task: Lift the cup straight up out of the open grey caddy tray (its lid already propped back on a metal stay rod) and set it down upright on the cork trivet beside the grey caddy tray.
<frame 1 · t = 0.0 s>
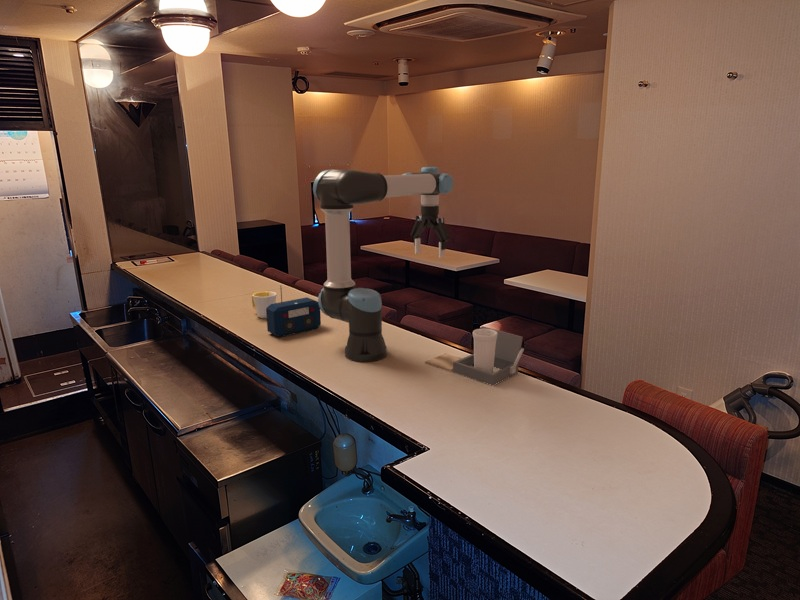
hand: (429, 255, 232), 28 cm above the bar counter, fingers open, 13 cm apart
cup: (483, 374, 179), resting in grey caddy tray
mug: (264, 316, 244), on the bar counter
trivet: (447, 362, 188), on the bar counter
radio: (295, 331, 223), on the bar counter
grey caddy tray: (485, 372, 180), on the bar counter
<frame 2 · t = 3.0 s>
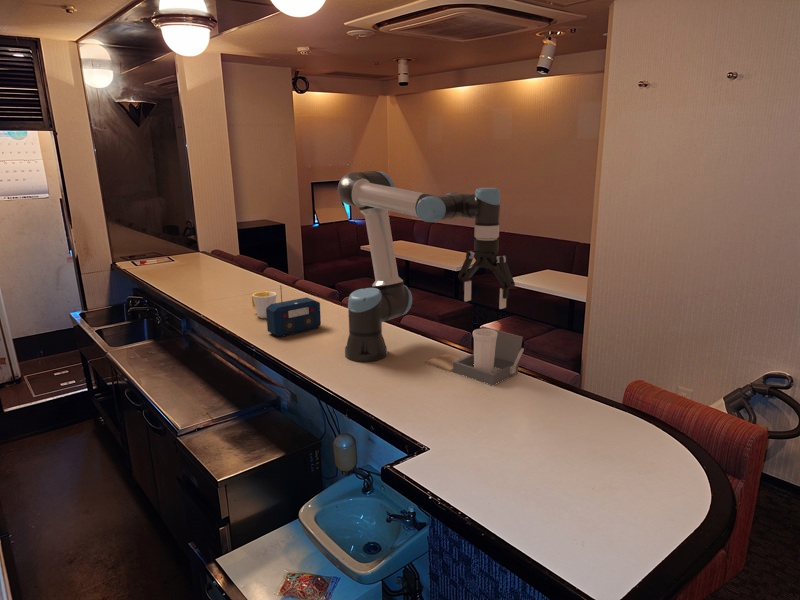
hand: (484, 304, 175), 23 cm above the bar counter, fingers open, 13 cm apart
nothing on the bar counter moved.
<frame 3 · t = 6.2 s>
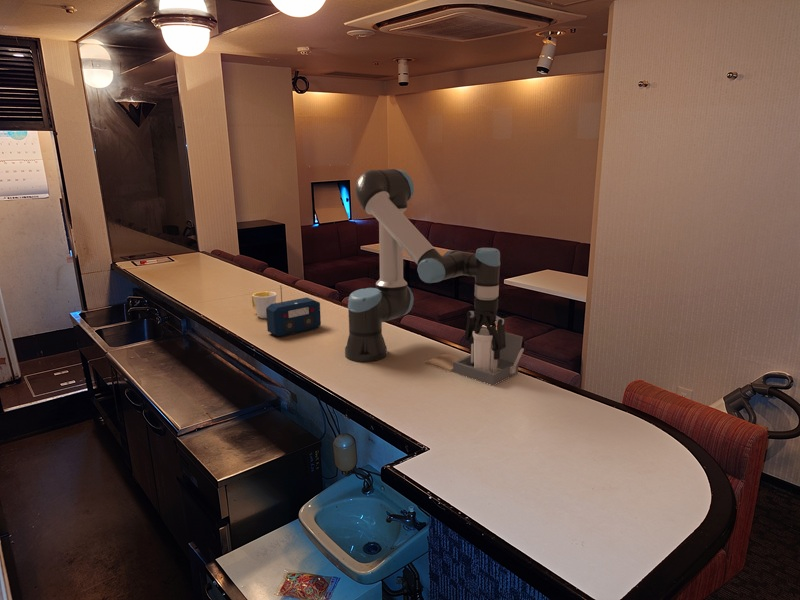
hand: (483, 364, 178), 3 cm above the bar counter, fingers closed on cup, 7 cm apart
cup: (483, 374, 179), resting in grey caddy tray, touching gripper
everything else where it was.
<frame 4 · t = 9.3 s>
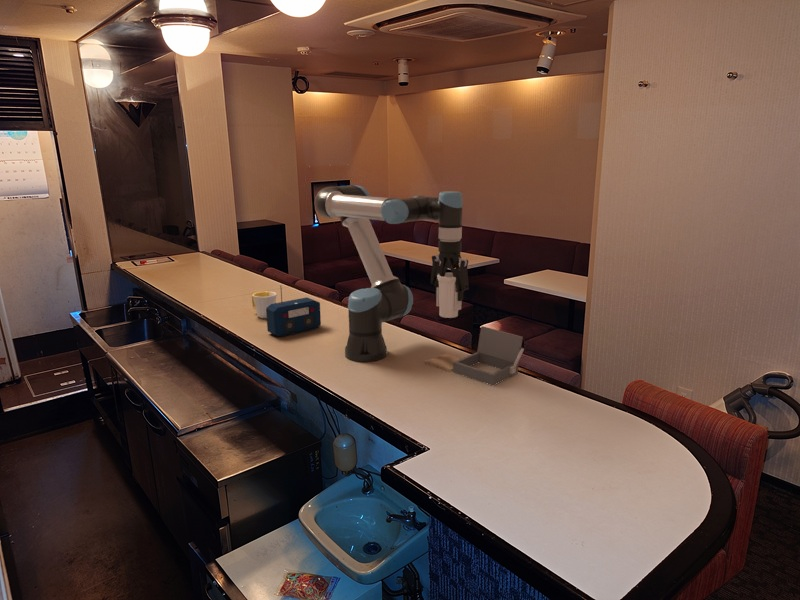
hand: (448, 307, 183), 20 cm above the bar counter, fingers closed on cup, 7 cm apart
cup: (448, 316, 184), point 17 cm above the bar counter, touching gripper
everything else where it was.
when the fingers open (5 cm above the bar counter, at t = 12.6 s): cup drops 1 cm, resting on trivet.
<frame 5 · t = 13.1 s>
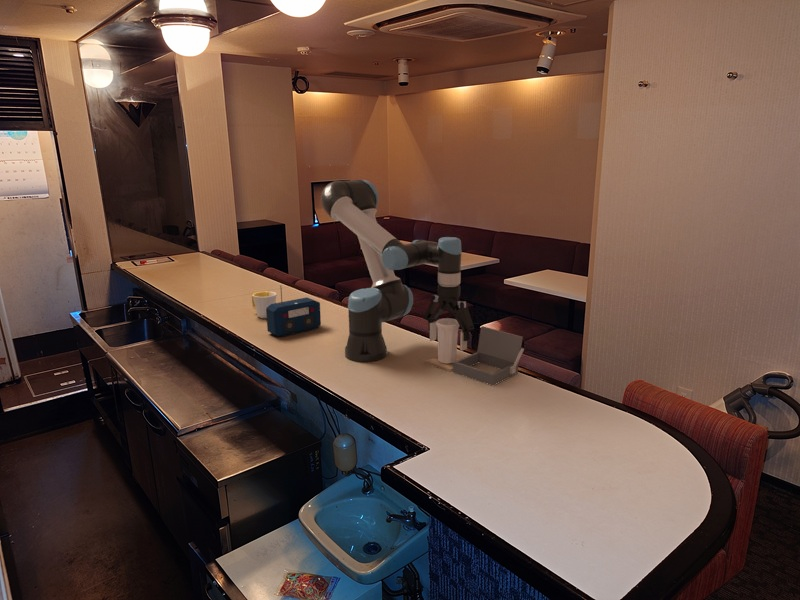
hand: (447, 344, 187), 7 cm above the bar counter, fingers open, 13 cm apart
cup: (447, 361, 188), resting on trivet
everything else where it was.
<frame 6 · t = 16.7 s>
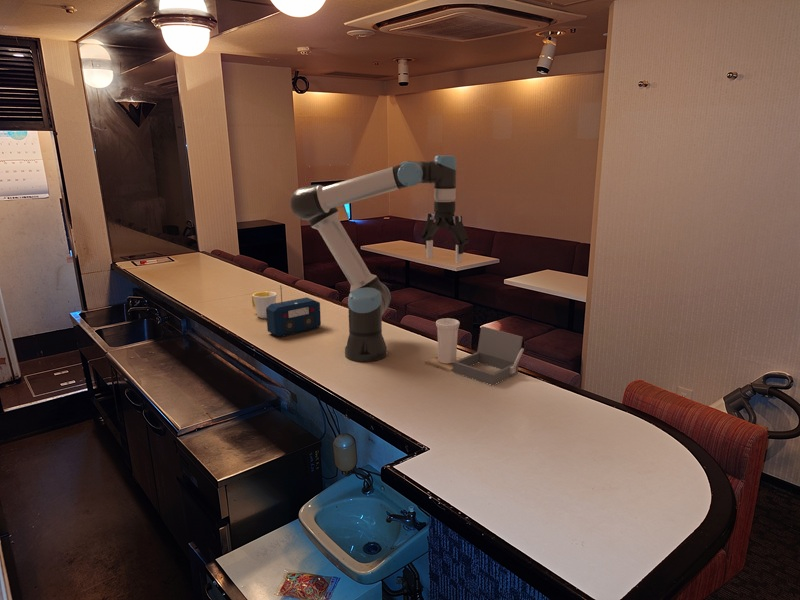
hand: (443, 260, 197), 33 cm above the bar counter, fingers open, 13 cm apart
nothing on the bar counter moved.
at the end: cup inside the target area on the trivet (0.2 cm from its centre), point 0.4 cm above the trivet's base; cup tilted 0°; cup touching trivet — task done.
